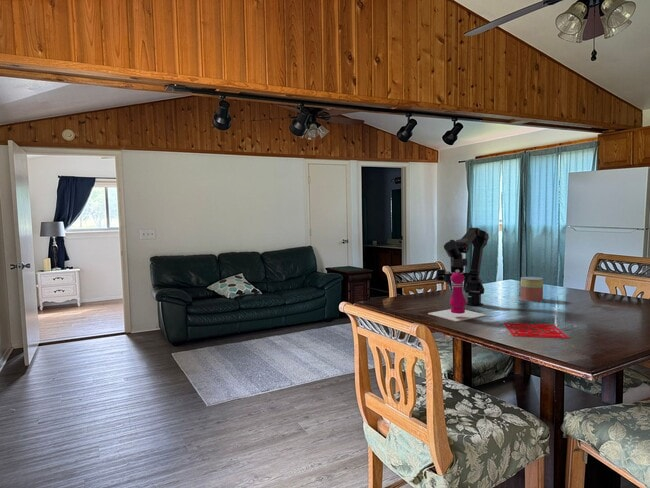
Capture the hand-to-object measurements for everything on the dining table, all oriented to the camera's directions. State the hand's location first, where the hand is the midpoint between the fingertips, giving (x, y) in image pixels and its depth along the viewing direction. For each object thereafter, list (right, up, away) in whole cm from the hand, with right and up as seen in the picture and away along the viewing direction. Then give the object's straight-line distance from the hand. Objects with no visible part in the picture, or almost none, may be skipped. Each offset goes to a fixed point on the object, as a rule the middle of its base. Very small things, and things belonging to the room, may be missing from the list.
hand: (457, 289), depth 198 cm
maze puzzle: (+25, -15, -21) cm, 36 cm away
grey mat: (+2, -13, +8) cm, 16 cm away
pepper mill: (+1, -11, +2) cm, 11 cm away
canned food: (+53, -10, +40) cm, 67 cm away
